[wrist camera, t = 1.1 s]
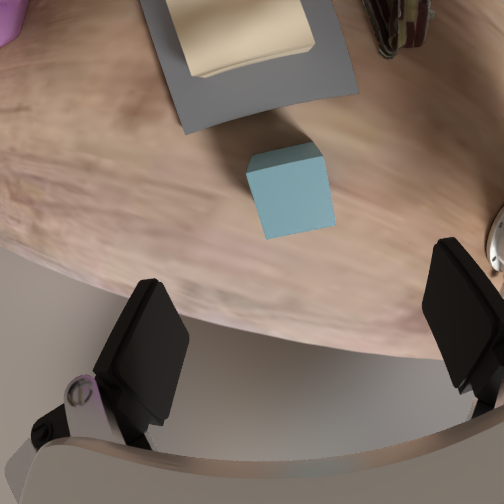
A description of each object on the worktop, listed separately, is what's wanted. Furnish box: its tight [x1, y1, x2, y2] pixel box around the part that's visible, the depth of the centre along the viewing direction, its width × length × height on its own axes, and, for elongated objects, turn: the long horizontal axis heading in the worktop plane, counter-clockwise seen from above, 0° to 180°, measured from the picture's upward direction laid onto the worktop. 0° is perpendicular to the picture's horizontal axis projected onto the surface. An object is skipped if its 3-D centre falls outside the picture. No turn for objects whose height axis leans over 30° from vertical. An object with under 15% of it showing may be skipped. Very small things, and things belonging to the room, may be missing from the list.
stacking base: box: [140, 0, 359, 135], centre depth 16 cm, size 18×16×6 cm
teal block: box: [246, 142, 336, 240], centre depth 24 cm, size 6×6×6 cm
